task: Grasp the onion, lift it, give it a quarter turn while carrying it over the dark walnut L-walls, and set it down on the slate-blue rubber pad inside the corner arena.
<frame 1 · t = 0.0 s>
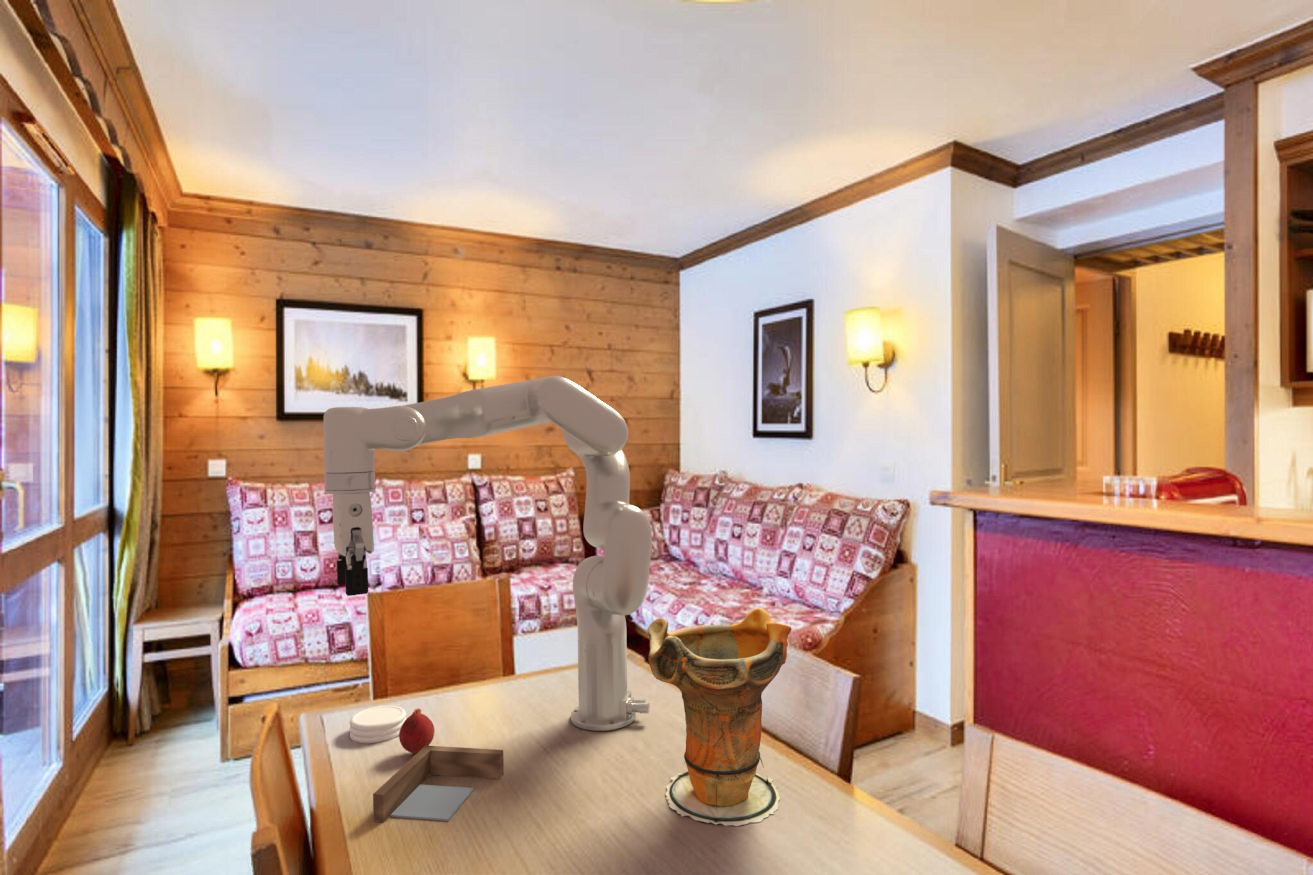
hand: (352, 588, 115), 31 cm above the table, tool pointing down, fingers open, 9 cm apart
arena: (442, 796, 109), on the table
coaster: (378, 734, 134), on the table
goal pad: (433, 802, 107), on the table
onion: (417, 755, 124), on the table
decorative vase: (723, 795, 109), on the table
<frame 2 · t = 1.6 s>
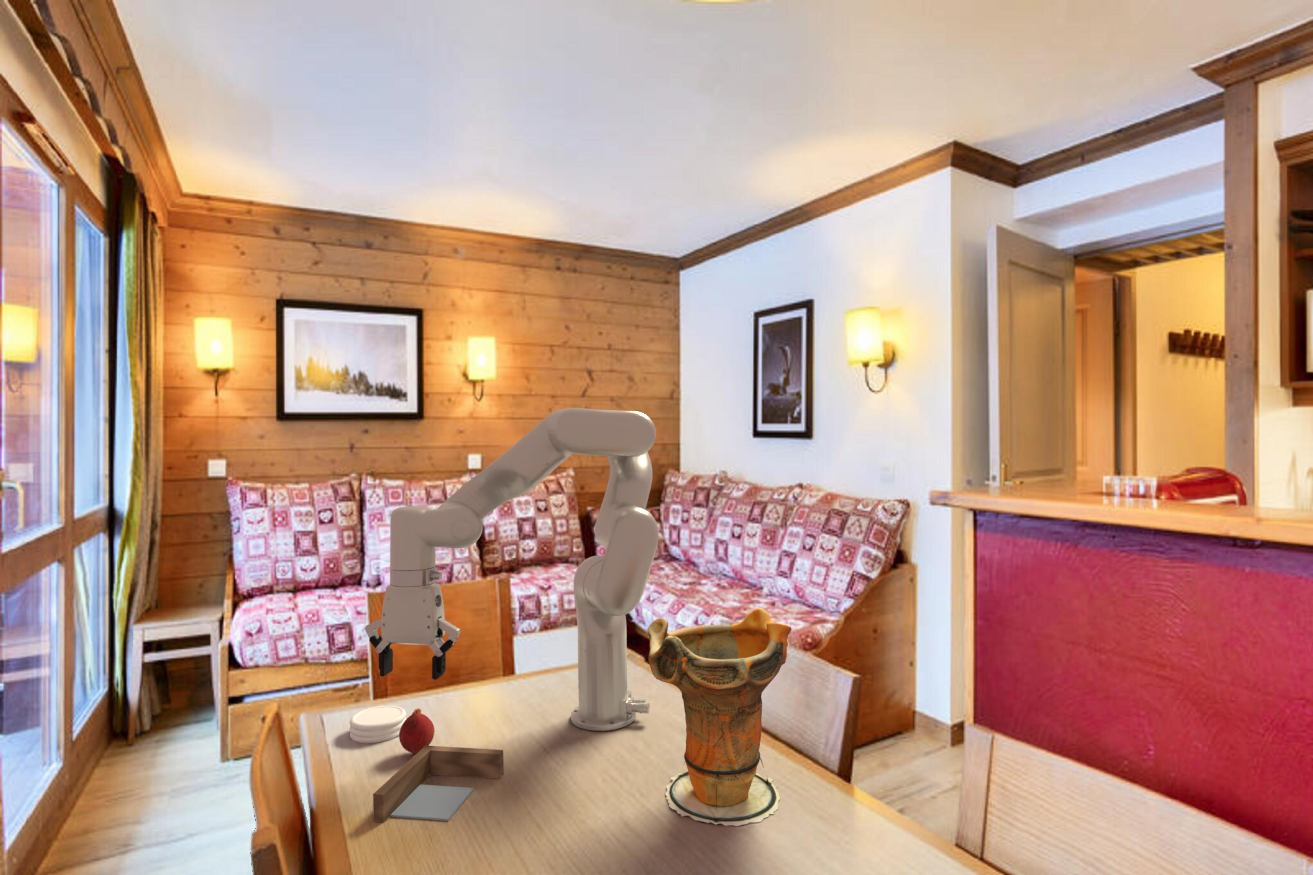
hand: (412, 675, 123), 14 cm above the table, tool pointing down, fingers open, 9 cm apart
nothing on the table moved.
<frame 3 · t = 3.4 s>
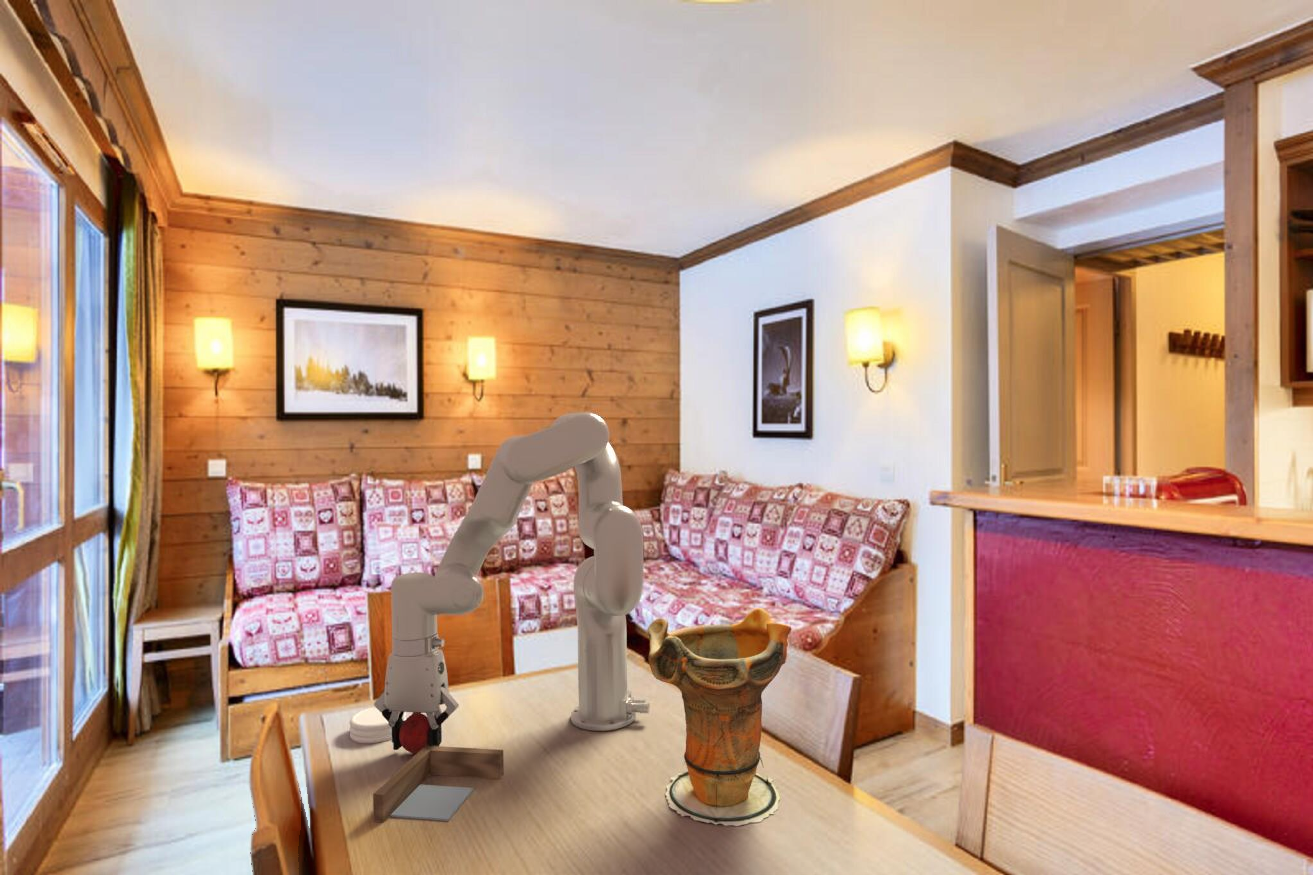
hand: (416, 746, 124), 1 cm above the table, tool pointing down, fingers closed on onion, 5 cm apart
onion: (417, 755, 124), on the table, touching gripper
everything else where it was.
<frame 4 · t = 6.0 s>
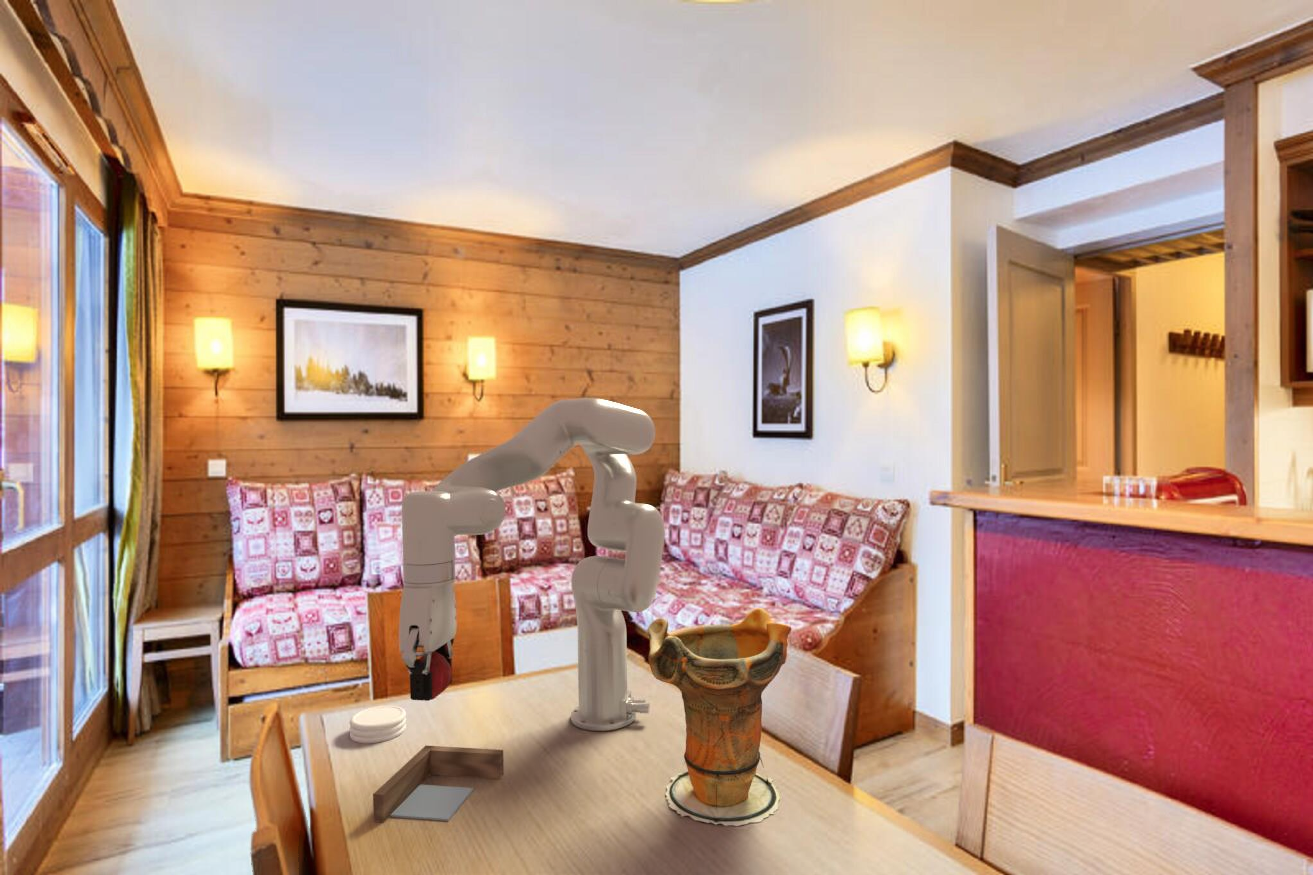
hand: (431, 690, 107), 17 cm above the table, tool pointing down, fingers closed on onion, 5 cm apart
onion: (432, 700, 107), point 16 cm above the table, touching gripper
everything else where it was.
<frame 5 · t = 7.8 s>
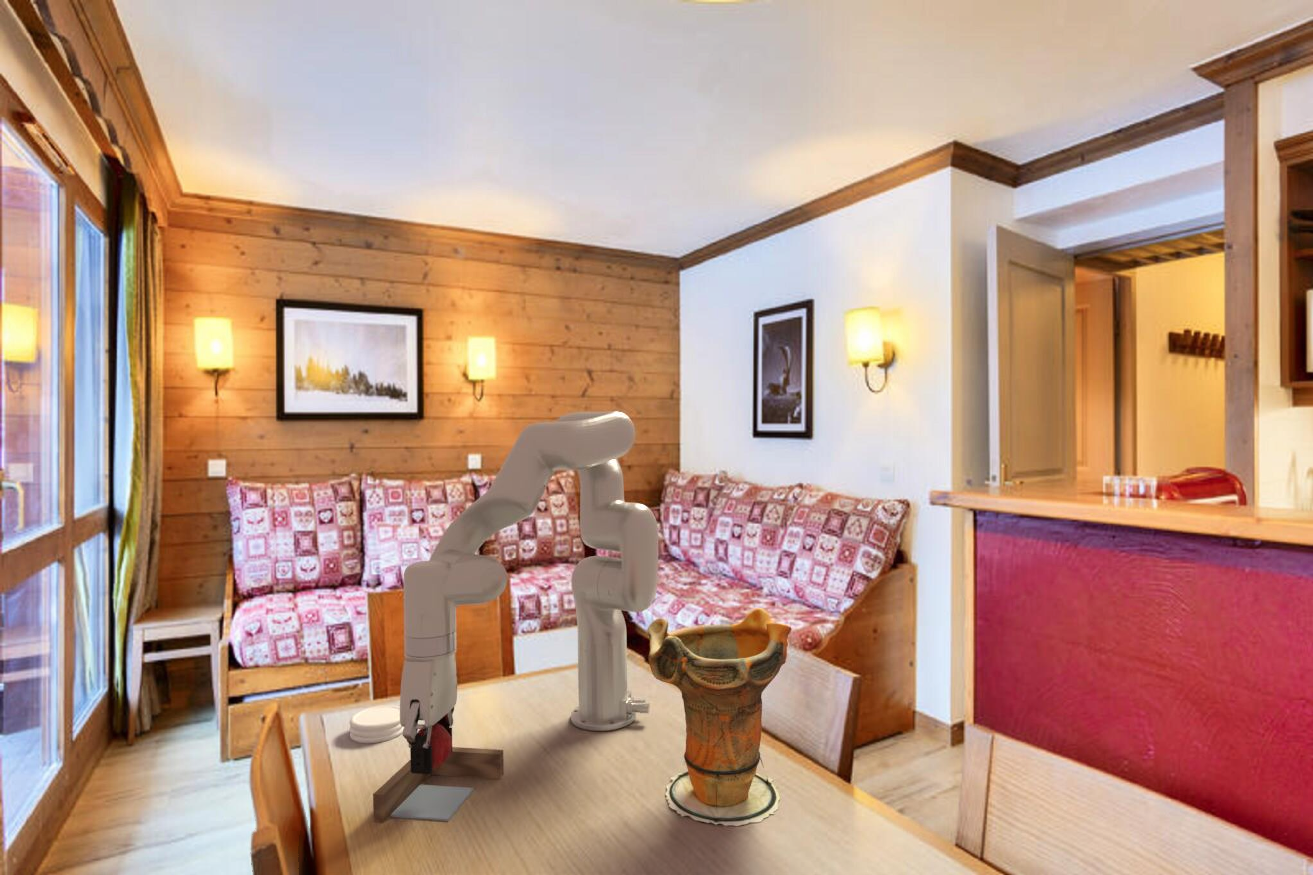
hand: (432, 761, 107), 6 cm above the table, tool pointing down, fingers closed on onion, 5 cm apart
onion: (432, 771, 107), point 5 cm above the table, touching gripper
everything else where it was.
when the fingers open (2 cm above the table, at t = 9.1 s): onion stays where it is, resting on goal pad.
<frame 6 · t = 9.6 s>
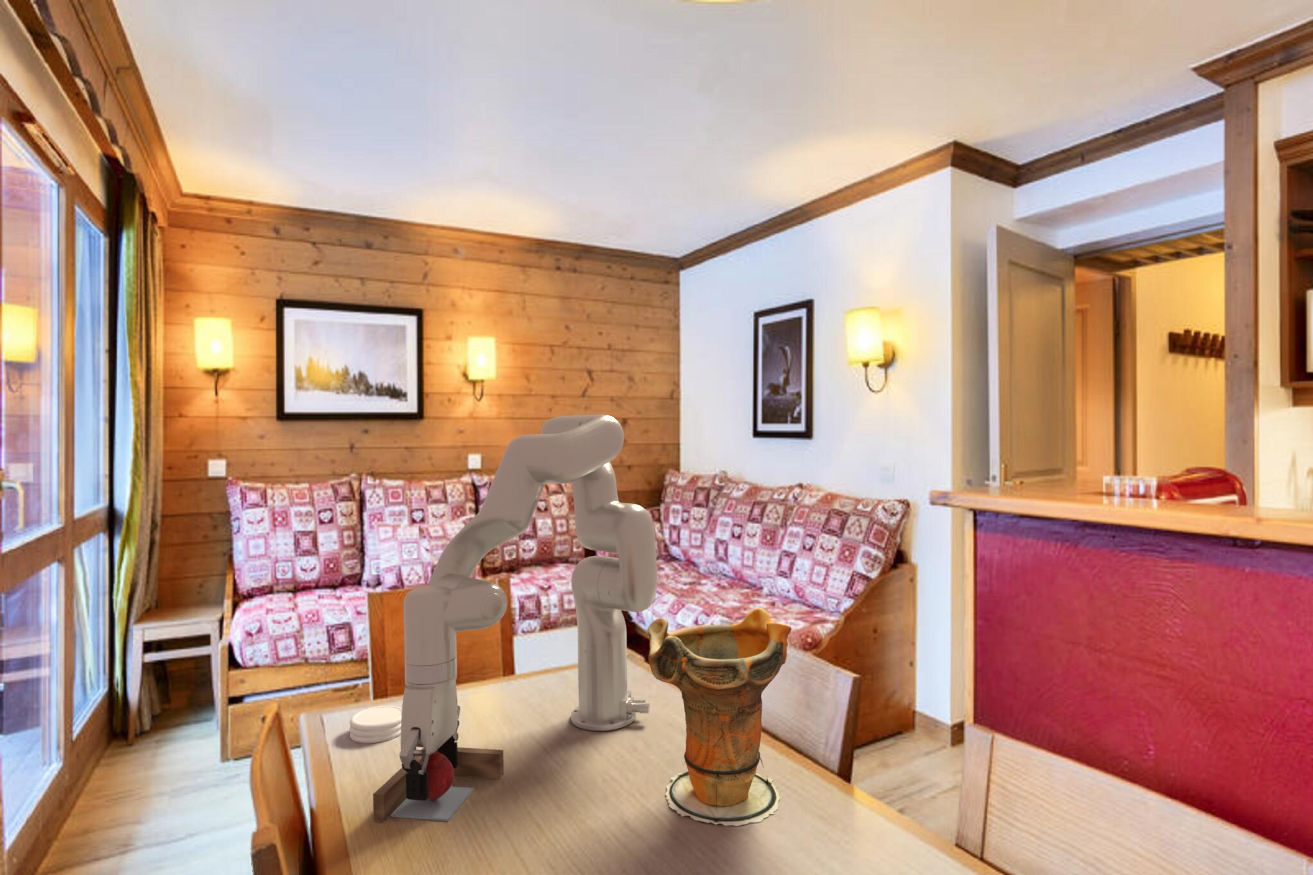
hand: (433, 782, 107), 3 cm above the table, tool pointing down, fingers open, 9 cm apart
onion: (434, 801, 108), resting on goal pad
everything else where it was.
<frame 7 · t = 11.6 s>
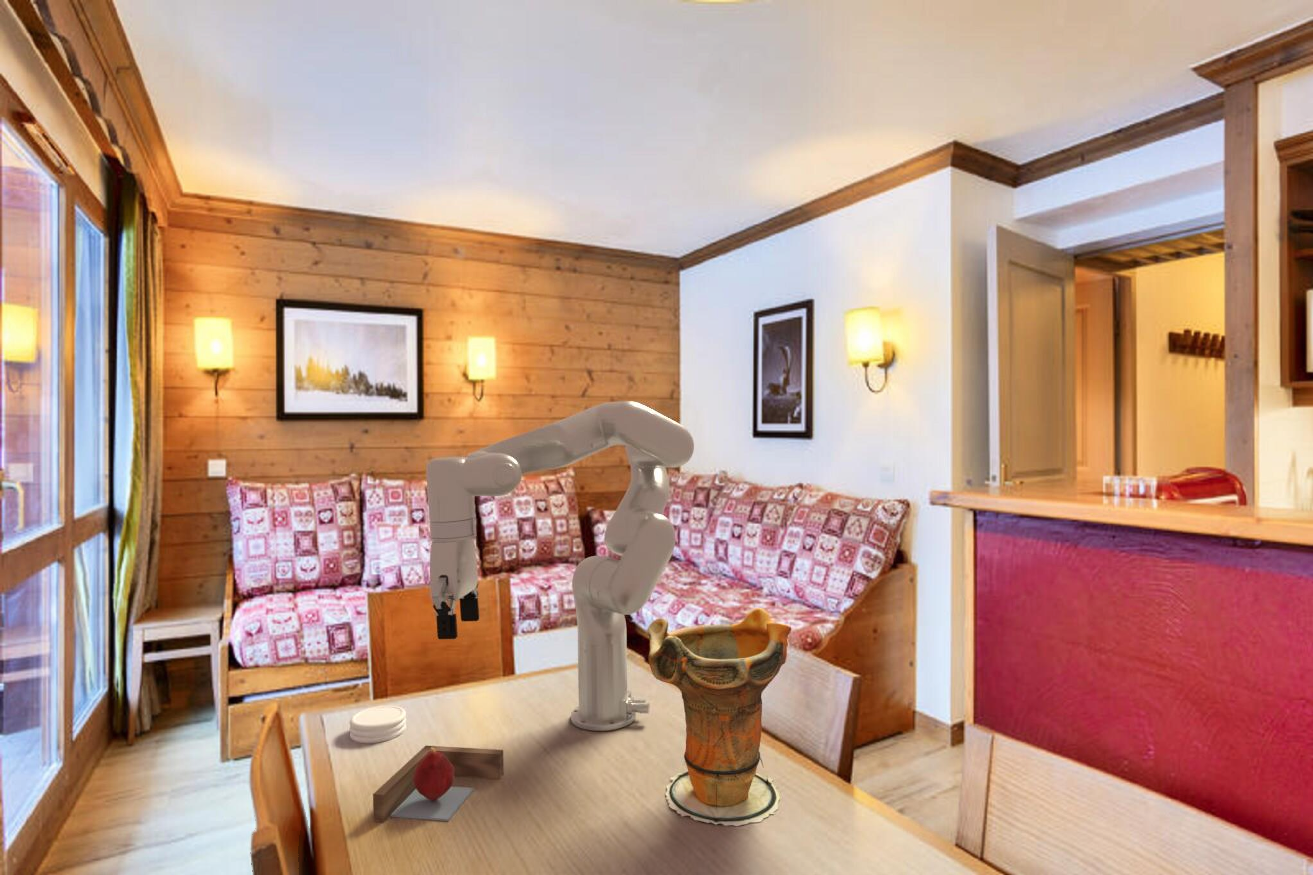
hand: (459, 629, 121), 23 cm above the table, tool pointing down, fingers open, 9 cm apart
nothing on the table moved.
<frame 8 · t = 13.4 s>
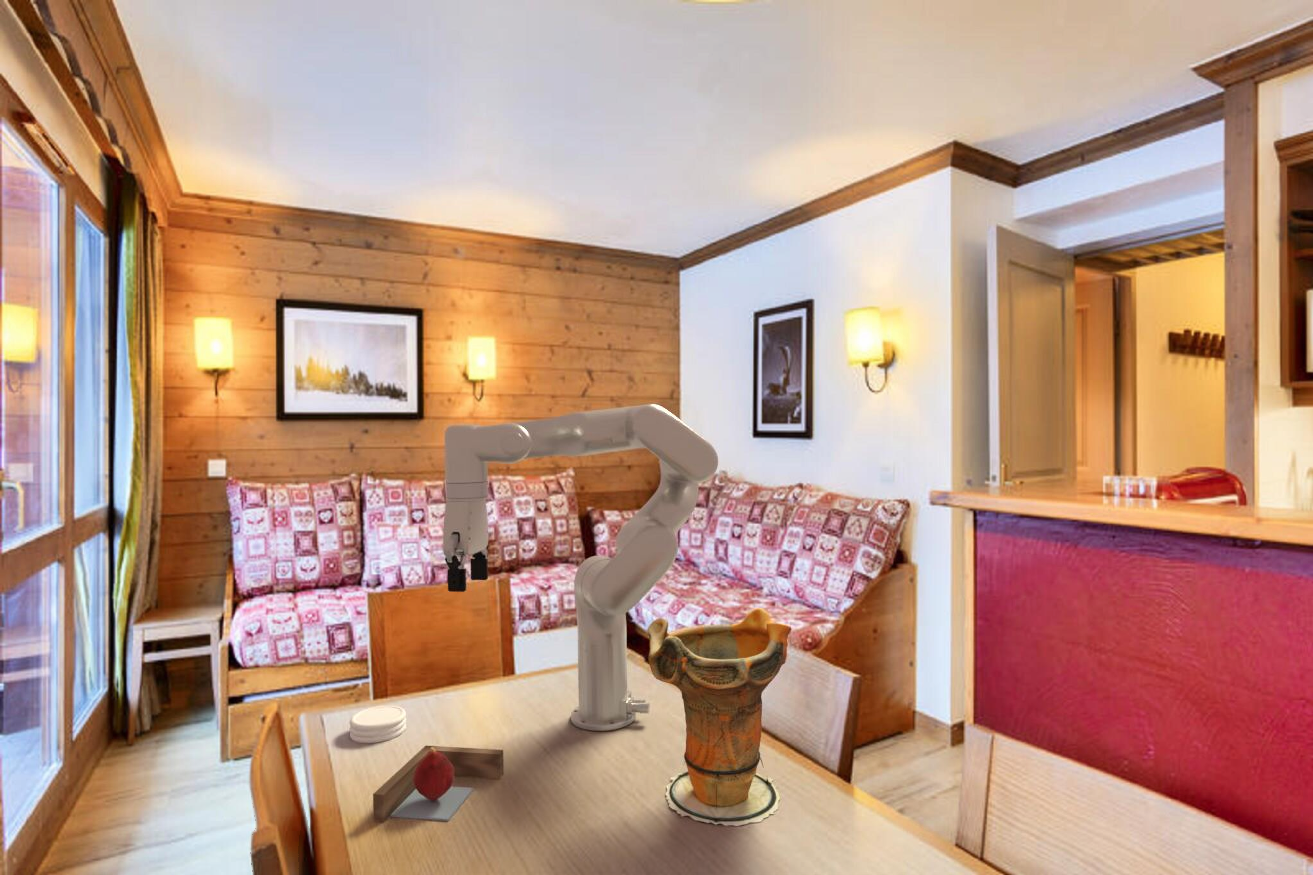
hand: (468, 585, 129), 28 cm above the table, tool pointing down, fingers open, 9 cm apart
nothing on the table moved.
at the end: onion 0.2 cm from the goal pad (horizontally); onion resting on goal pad; the gripper is holding nothing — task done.
